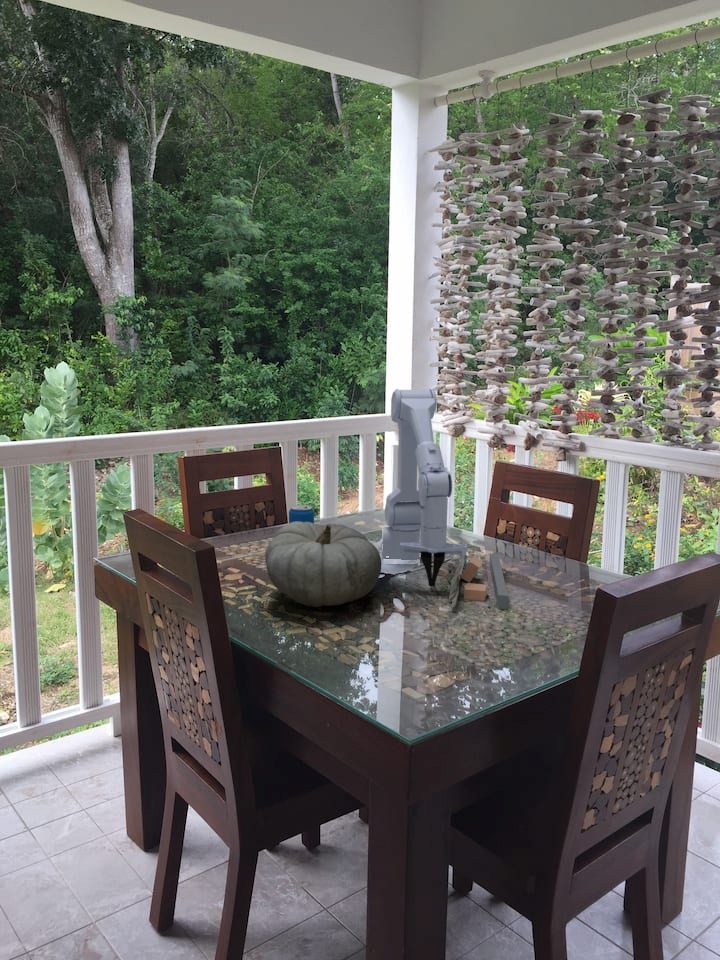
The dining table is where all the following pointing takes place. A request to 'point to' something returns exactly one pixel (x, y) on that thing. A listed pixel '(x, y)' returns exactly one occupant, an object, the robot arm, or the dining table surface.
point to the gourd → (322, 563)
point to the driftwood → (455, 580)
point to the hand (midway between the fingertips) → (431, 584)
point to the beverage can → (301, 513)
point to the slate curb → (498, 582)
